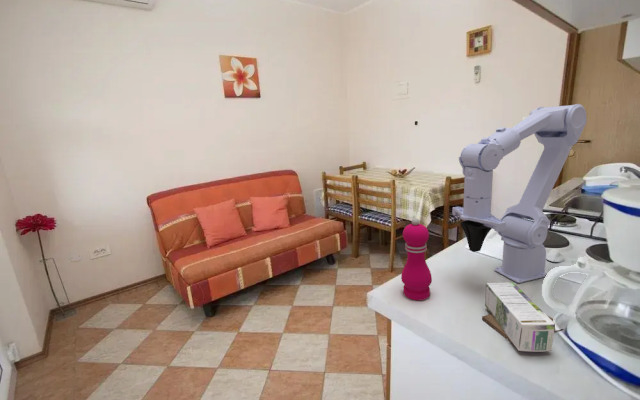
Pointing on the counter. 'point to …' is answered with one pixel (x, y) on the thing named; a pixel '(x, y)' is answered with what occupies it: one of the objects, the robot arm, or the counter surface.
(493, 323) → the walnut board
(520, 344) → the syrup box
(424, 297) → the pepper mill
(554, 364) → the counter surface
